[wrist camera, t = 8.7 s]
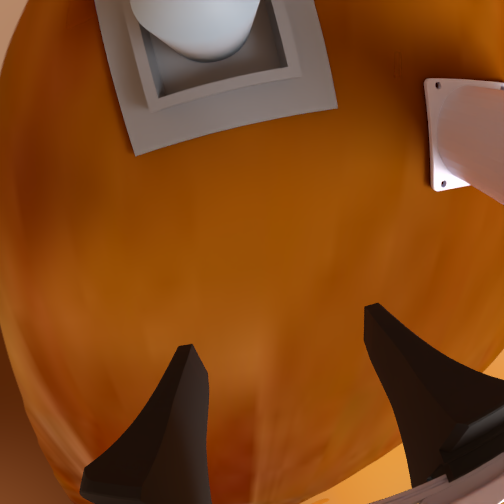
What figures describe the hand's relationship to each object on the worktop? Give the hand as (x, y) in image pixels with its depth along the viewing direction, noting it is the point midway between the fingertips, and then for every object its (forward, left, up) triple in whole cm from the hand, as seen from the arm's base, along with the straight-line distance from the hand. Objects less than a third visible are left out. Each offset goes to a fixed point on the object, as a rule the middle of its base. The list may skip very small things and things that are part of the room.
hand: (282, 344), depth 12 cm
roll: (0, -14, -9) cm, 16 cm away
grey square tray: (0, -14, -9) cm, 16 cm away
